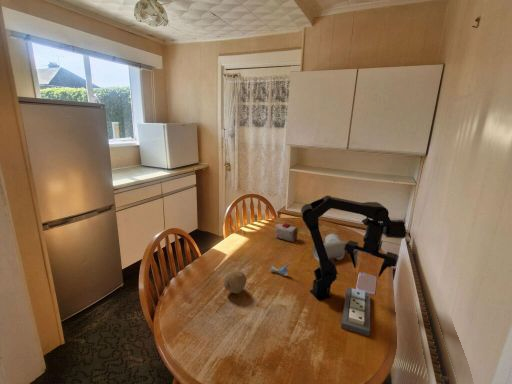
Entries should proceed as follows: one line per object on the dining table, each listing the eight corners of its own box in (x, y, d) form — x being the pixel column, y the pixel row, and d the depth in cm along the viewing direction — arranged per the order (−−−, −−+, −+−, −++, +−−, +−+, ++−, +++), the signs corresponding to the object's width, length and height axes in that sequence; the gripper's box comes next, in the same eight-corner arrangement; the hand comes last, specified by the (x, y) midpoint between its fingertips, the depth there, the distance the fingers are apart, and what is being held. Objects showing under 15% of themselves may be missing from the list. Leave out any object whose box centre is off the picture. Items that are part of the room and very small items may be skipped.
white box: (272, 238, 158) (273, 223, 156) (278, 233, 165) (279, 219, 162) (293, 243, 151) (294, 228, 149) (298, 238, 158) (299, 223, 155)
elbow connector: (351, 264, 128) (342, 246, 147) (349, 245, 126) (340, 229, 145) (315, 268, 131) (311, 249, 150) (312, 249, 129) (309, 233, 148)
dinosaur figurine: (282, 279, 121) (270, 267, 123) (298, 263, 116) (284, 250, 118) (280, 282, 119) (268, 269, 121) (296, 265, 113) (282, 253, 115)
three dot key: (363, 314, 94) (364, 309, 93) (349, 310, 96) (350, 305, 95) (363, 306, 98) (364, 301, 97) (350, 302, 100) (350, 297, 99)
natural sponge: (225, 301, 101) (225, 279, 98) (222, 287, 109) (222, 266, 106) (248, 297, 103) (248, 276, 100) (243, 284, 111) (243, 264, 109)
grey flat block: (369, 336, 86) (369, 331, 85) (341, 327, 89) (341, 322, 89) (369, 297, 105) (369, 293, 105) (346, 291, 109) (346, 287, 108)
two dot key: (363, 327, 88) (364, 321, 87) (347, 322, 90) (348, 316, 89) (363, 317, 92) (364, 312, 92) (349, 313, 94) (349, 307, 94)
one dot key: (364, 304, 99) (364, 298, 99) (350, 300, 101) (351, 295, 101) (364, 296, 104) (365, 291, 103) (351, 293, 106) (352, 288, 105)
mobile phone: (355, 288, 110) (359, 271, 123) (355, 290, 110) (359, 273, 123) (375, 293, 107) (376, 275, 120) (374, 295, 107) (376, 277, 120)
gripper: (404, 236, 99) (396, 272, 103) (354, 223, 109) (349, 256, 113) (399, 246, 90) (391, 284, 94) (346, 231, 101) (341, 266, 105)
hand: (366, 271), depth 102 cm, fingers open, 9 cm apart
